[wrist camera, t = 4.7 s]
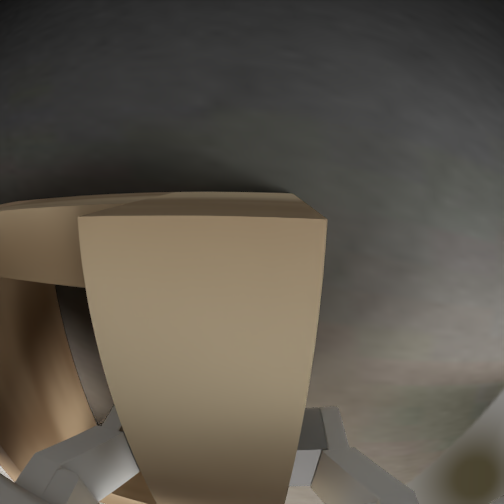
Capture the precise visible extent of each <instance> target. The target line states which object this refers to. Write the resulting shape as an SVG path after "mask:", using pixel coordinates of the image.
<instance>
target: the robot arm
mask: <svg viewBox="0 0 504 504" xmlns="http://www.w3.org/2000/svg"><path fill="white" fill-rule="evenodd" d="M139 470H140V469H139V467H138V464H137V462H136V460H135V457H134V455H133V453H132V450H131V448H130V446H129V443H128V441H127V438H126V436H125V433H124V430H123V428H122V425H121V422H120V419H119V417H118V414H117V411H116V408H115V405H114V406H113V408H112V409H111V411H110V413H109V414H108V416H107V418H106V419H105V421H104V423H103V424H102V426H98V425H96V426H94V427H92V428H90V429H88V430H86V431H84V432H82V433H80V434H77V435H75V436H73V437H71V438H69V439H67V440H64V441H62V442H60V443H58V444H55V445H53V446H51V447H48V448H46V449H44V450H41V451H39V452H36V453H35V454H34V455H33V457H32V458H31V459H30V461H29V462H28V464H27V465H26V467H25V468H24V470H23V471H22V472H21V474H20V475H19V477H18V478H17V480H16V481H15V483H14V482H13V481H11V480H9V479H8V478H6V477H5V476H3V475H2V474H0V504H99V503H98V502H99V501H100V500H102V499H103V498H105V497H106V496H107V495H109V494H110V493H112V492H113V491H114V490H116V489H117V488H119V487H120V486H121V485H123V484H124V483H125V482H127V481H128V480H129V479H131V478H132V477H133V476H135V475H136V474H137V473H138V472H139ZM289 486H311V488H312V489H313V491H314V492H315V493H316V494H317V495H318V496H319V498H320V499H321V500H322V501H323V502H324V503H325V504H419V503H418V500H417V497H416V494H415V492H414V491H413V490H412V489H410V488H409V487H407V486H406V485H404V484H403V483H402V482H400V481H399V480H397V479H396V478H395V477H393V476H392V475H390V474H389V473H388V472H386V471H385V470H384V469H382V468H381V467H380V466H378V465H377V464H376V463H374V462H373V461H372V460H370V459H369V458H368V457H366V456H365V455H364V454H362V453H361V452H360V451H359V450H357V449H356V448H355V447H354V448H349V445H348V441H347V437H346V433H345V429H344V426H343V422H342V418H341V415H340V411H339V408H338V407H337V406H330V407H319V408H318V407H312V408H305V411H304V417H303V422H302V427H301V433H300V438H299V443H298V447H297V452H296V457H295V461H294V466H293V470H292V475H291V479H290V483H289ZM488 504H504V495H503V496H501V497H499V498H497V499H495V500H494V501H492V502H490V503H488Z"/></svg>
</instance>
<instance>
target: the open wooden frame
mask: <svg viewBox="0 0 504 504" xmlns="http://www.w3.org/2000/svg"><path fill="white" fill-rule="evenodd" d="M326 233H327V219H326V218H325V217H324V216H322V215H321V214H320V213H318V212H317V211H316V210H314V209H313V208H312V207H310V206H309V205H308V204H306V203H305V202H303V201H302V200H301V199H299V198H298V197H297V196H295V195H294V194H292V193H262V192H152V193H124V194H103V195H86V196H71V197H58V198H46V199H35V200H25V201H16V202H11V203H6V204H1V205H0V465H1V466H2V468H3V469H4V470H5V471H6V473H7V474H8V475H9V476H10V477H11V479H12V480H13V481H14V482H15V481H16V480H17V478H18V477H19V475H20V474H21V472H22V471H23V470H24V468H25V467H26V465H27V464H28V462H29V461H30V459H31V458H32V457H33V455H34V454H35V453H36V452H39V451H41V450H44V449H46V448H48V447H51V446H53V445H55V444H58V443H60V442H62V441H64V440H67V439H69V438H71V437H73V436H75V435H77V434H80V433H82V432H84V431H86V430H88V429H90V428H92V427H94V426H96V425H97V424H96V422H95V419H94V417H93V414H92V412H91V409H90V407H89V404H88V402H87V399H86V396H85V394H84V391H83V388H82V385H81V383H80V380H79V377H78V374H77V371H76V368H75V365H74V361H73V358H72V355H71V351H70V348H69V344H68V341H67V337H66V333H65V330H64V326H63V322H62V317H61V313H60V309H59V304H58V299H57V294H56V289H55V284H56V285H65V286H74V287H83V288H86V293H87V299H88V305H89V310H90V315H91V320H92V325H93V329H94V334H95V338H96V342H97V346H98V350H99V354H100V358H101V362H102V366H103V369H104V373H105V376H106V380H107V383H108V386H109V390H110V393H111V396H112V399H113V402H114V405H115V408H116V411H117V414H118V417H119V419H120V422H121V425H122V428H123V430H124V433H125V436H126V438H127V441H128V443H129V446H130V448H131V450H132V453H133V455H134V457H135V460H136V462H137V464H138V467H139V469H140V470H139V472H138V473H137V474H136V475H135V476H133V477H132V478H131V479H129V480H128V481H127V482H125V483H124V484H123V485H121V486H120V487H119V488H117V489H116V490H114V491H113V492H112V493H110V494H109V495H107V496H106V497H105V498H103V499H102V500H100V501H99V502H102V503H105V504H284V503H285V500H286V496H287V492H288V487H289V483H290V479H291V475H292V470H293V466H294V461H295V457H296V452H297V447H298V443H299V438H300V433H301V427H302V422H303V417H304V411H305V406H306V400H307V394H308V388H309V382H310V376H311V369H312V363H313V356H314V349H315V342H316V334H317V326H318V318H319V309H320V300H321V291H322V281H323V271H324V259H325V247H326Z"/></svg>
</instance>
